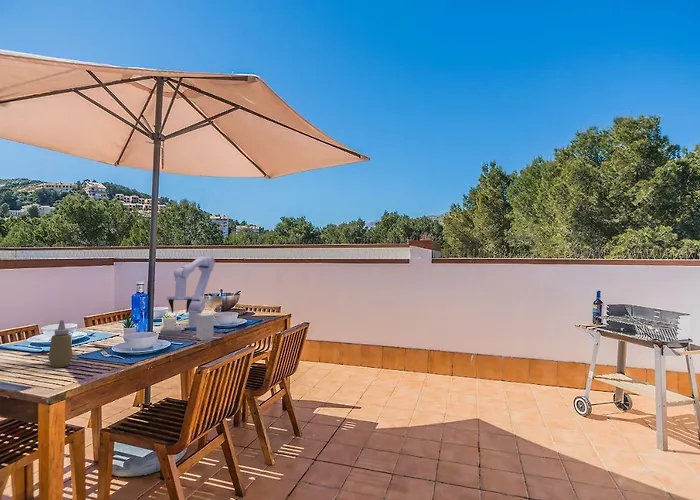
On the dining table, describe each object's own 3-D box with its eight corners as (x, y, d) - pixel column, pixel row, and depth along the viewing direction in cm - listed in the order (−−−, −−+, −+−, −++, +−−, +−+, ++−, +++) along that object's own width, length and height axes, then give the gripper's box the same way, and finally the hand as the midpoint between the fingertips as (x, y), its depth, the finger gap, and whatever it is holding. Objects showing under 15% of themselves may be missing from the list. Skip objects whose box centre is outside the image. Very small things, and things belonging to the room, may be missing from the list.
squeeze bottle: (45, 369, 173) (47, 322, 173) (50, 364, 180) (52, 319, 180) (70, 368, 176) (72, 321, 176) (73, 362, 183) (75, 318, 183)
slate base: (161, 331, 254) (162, 327, 254) (180, 331, 257) (181, 327, 257) (160, 335, 244) (160, 330, 244) (179, 334, 247) (179, 330, 247)
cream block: (166, 328, 252) (167, 317, 252) (175, 328, 253) (175, 317, 253) (166, 329, 248) (166, 318, 248) (175, 329, 249) (175, 318, 249)
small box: (213, 339, 239) (214, 314, 239) (201, 340, 235) (202, 315, 235) (207, 336, 245) (208, 312, 245) (195, 337, 241) (196, 313, 241)
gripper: (166, 289, 253) (165, 313, 252) (193, 289, 257) (192, 313, 257) (167, 288, 259) (166, 312, 259) (194, 288, 264) (193, 311, 264)
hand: (179, 312), depth 258 cm, fingers open, 7 cm apart
